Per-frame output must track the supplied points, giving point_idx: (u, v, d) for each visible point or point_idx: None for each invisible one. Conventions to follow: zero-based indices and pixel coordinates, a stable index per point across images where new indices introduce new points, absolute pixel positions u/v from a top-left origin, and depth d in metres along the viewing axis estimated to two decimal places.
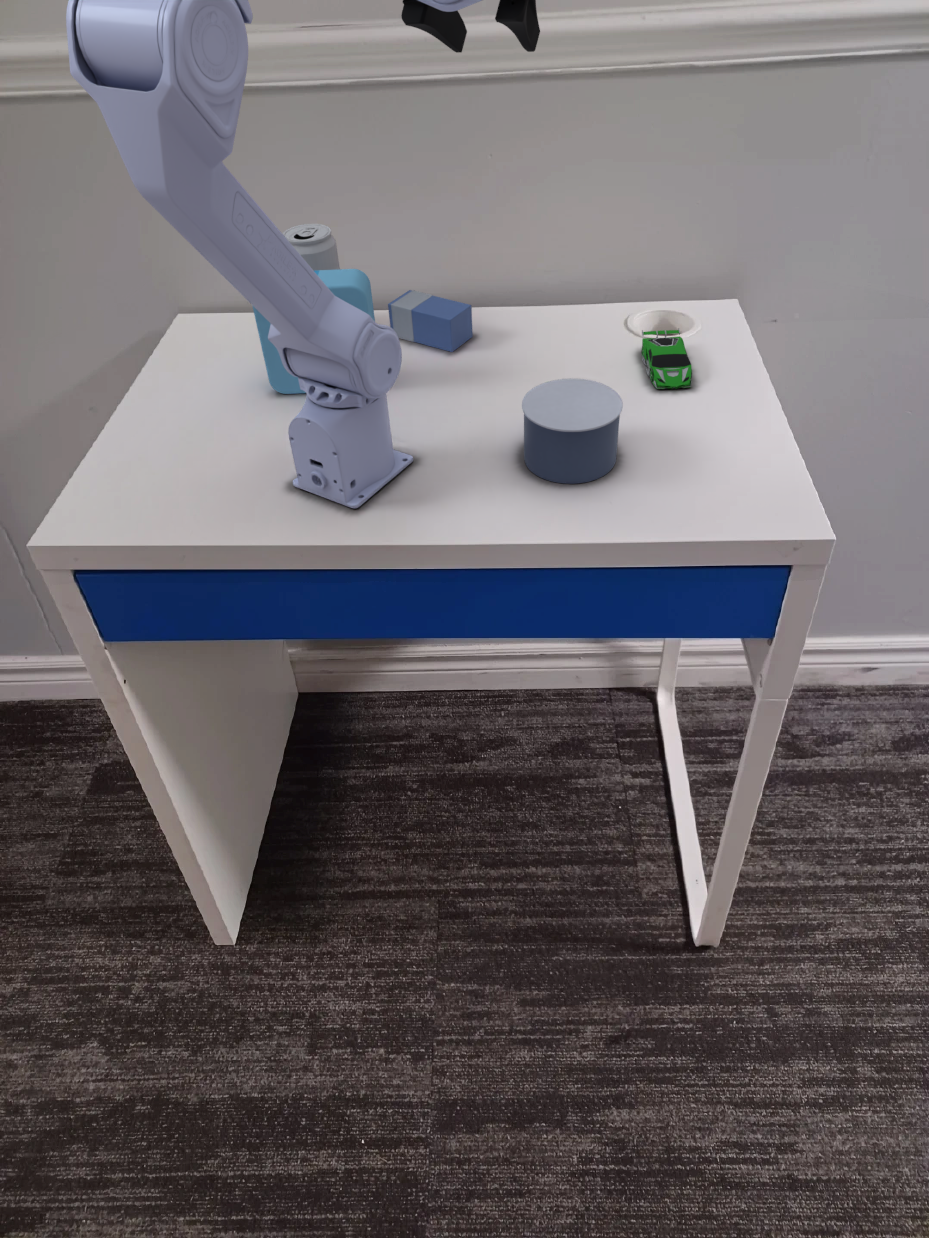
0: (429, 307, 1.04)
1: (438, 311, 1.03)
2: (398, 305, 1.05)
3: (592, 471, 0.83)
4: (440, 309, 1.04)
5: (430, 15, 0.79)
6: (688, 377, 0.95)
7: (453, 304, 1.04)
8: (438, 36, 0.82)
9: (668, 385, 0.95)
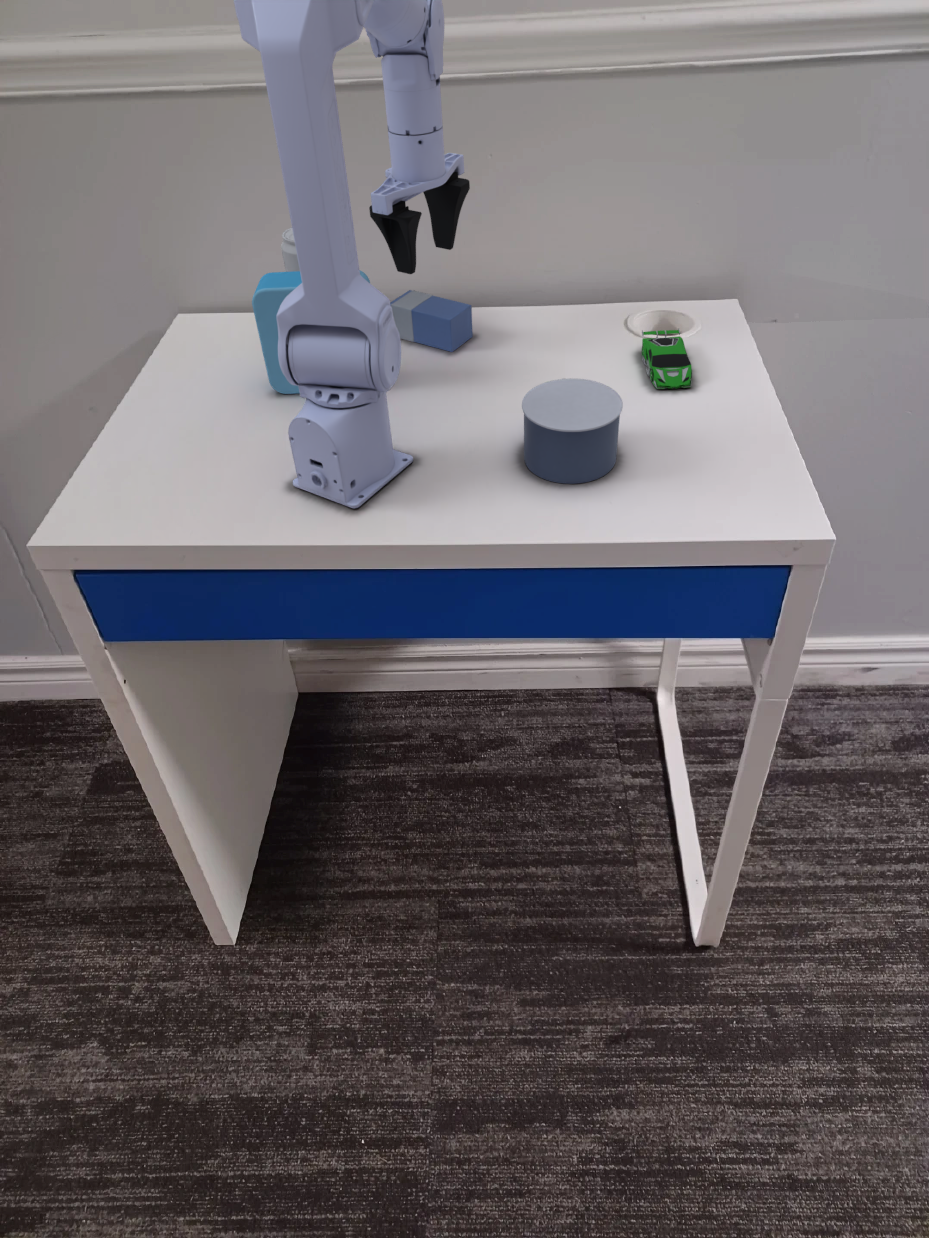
0: (429, 307, 1.04)
1: (438, 311, 1.03)
2: (398, 305, 1.05)
3: (592, 471, 0.83)
4: (440, 309, 1.04)
5: None
6: (688, 377, 0.95)
7: (453, 304, 1.04)
8: (412, 246, 0.96)
9: (668, 385, 0.95)
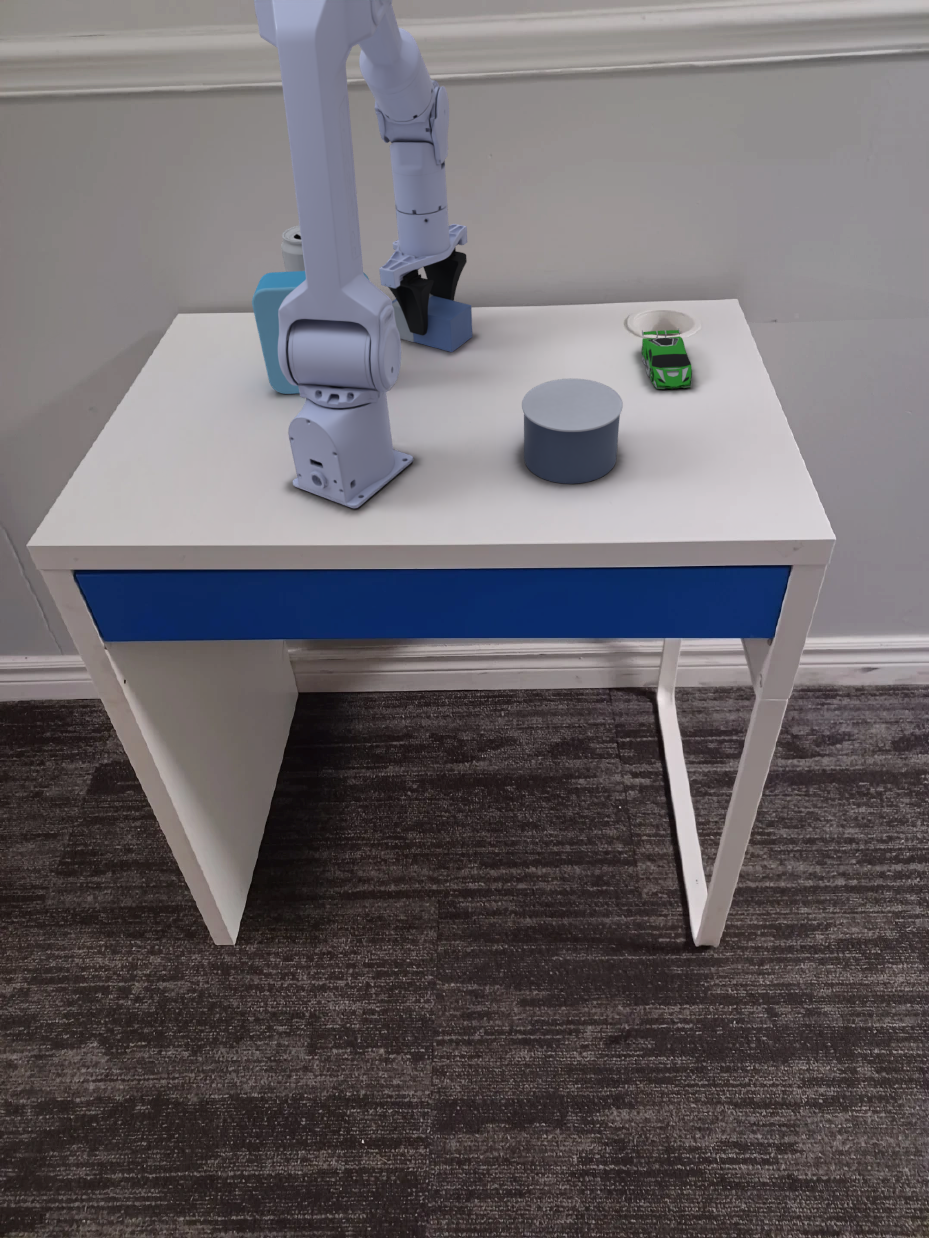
0: (429, 307, 1.04)
1: (438, 311, 1.03)
2: (398, 305, 1.05)
3: (592, 471, 0.83)
4: (440, 309, 1.04)
5: None
6: (688, 377, 0.95)
7: (453, 304, 1.04)
8: (425, 310, 1.02)
9: (668, 385, 0.95)
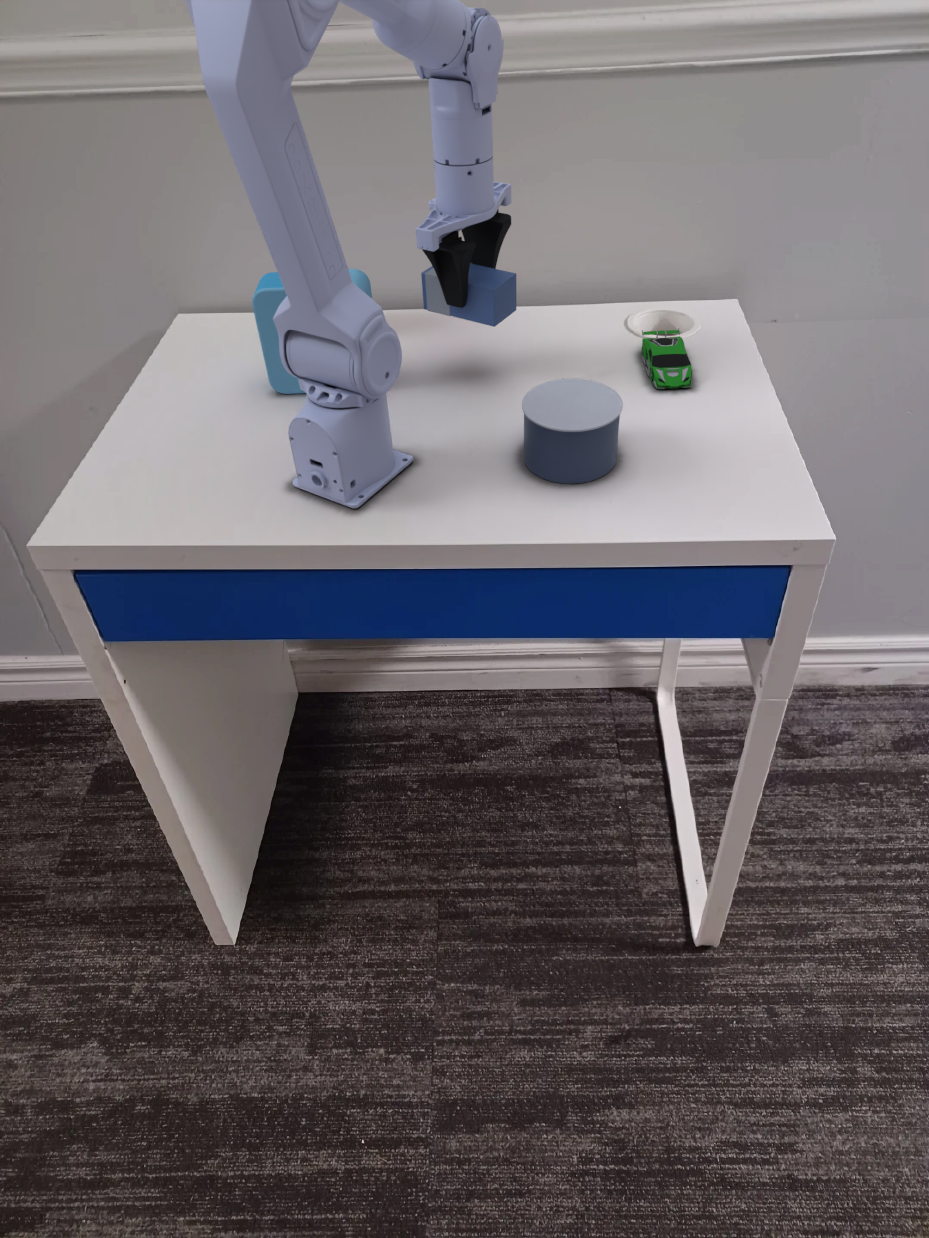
0: (468, 275, 0.92)
1: (479, 280, 0.91)
2: (433, 274, 0.93)
3: (592, 471, 0.83)
4: (481, 278, 0.91)
5: None
6: (688, 377, 0.95)
7: (495, 272, 0.92)
8: (465, 278, 0.90)
9: (668, 385, 0.95)
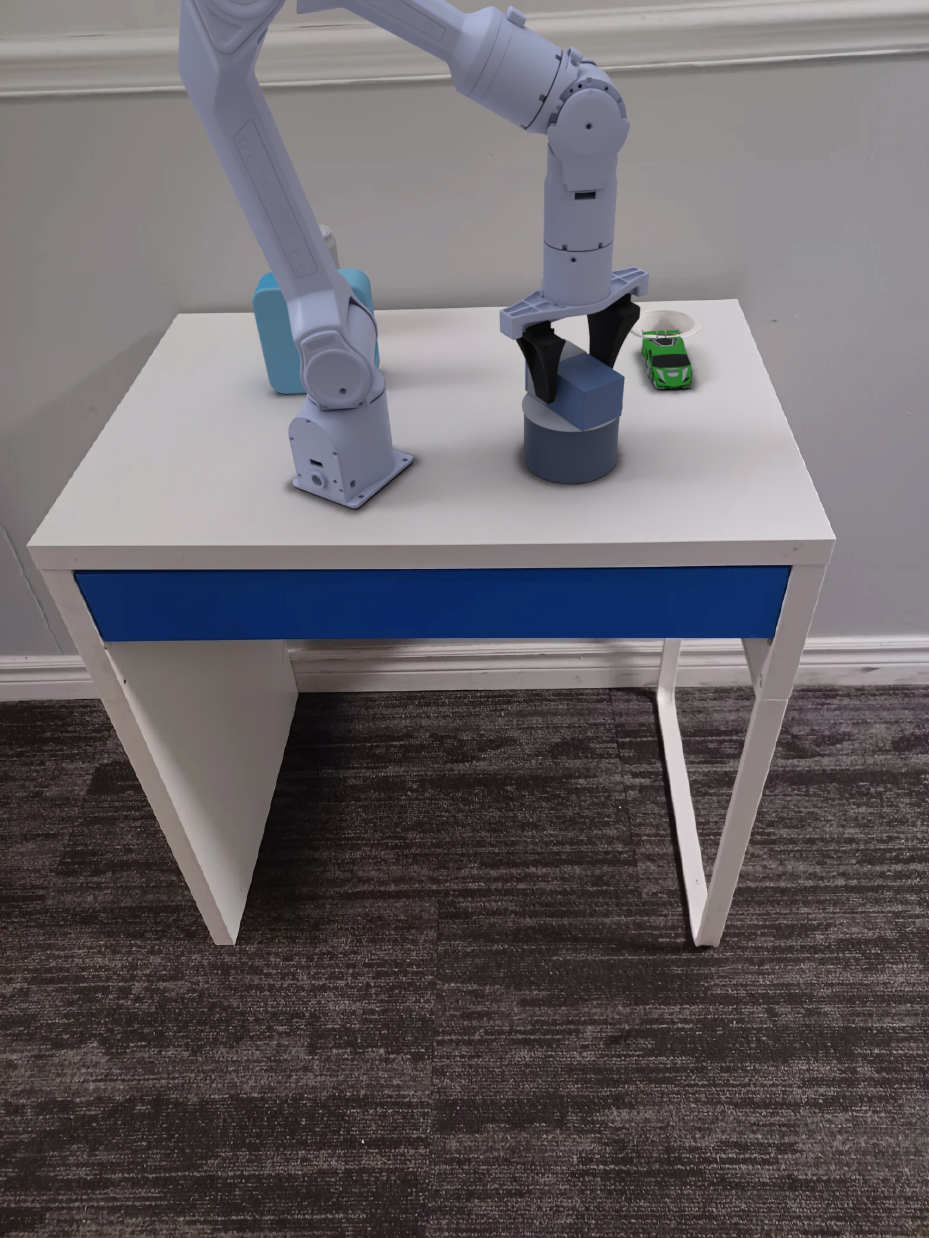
0: (571, 367, 0.80)
1: (578, 375, 0.79)
2: None
3: (592, 471, 0.83)
4: (582, 374, 0.79)
5: None
6: (688, 378, 0.95)
7: (603, 370, 0.79)
8: (552, 374, 0.78)
9: (668, 385, 0.95)
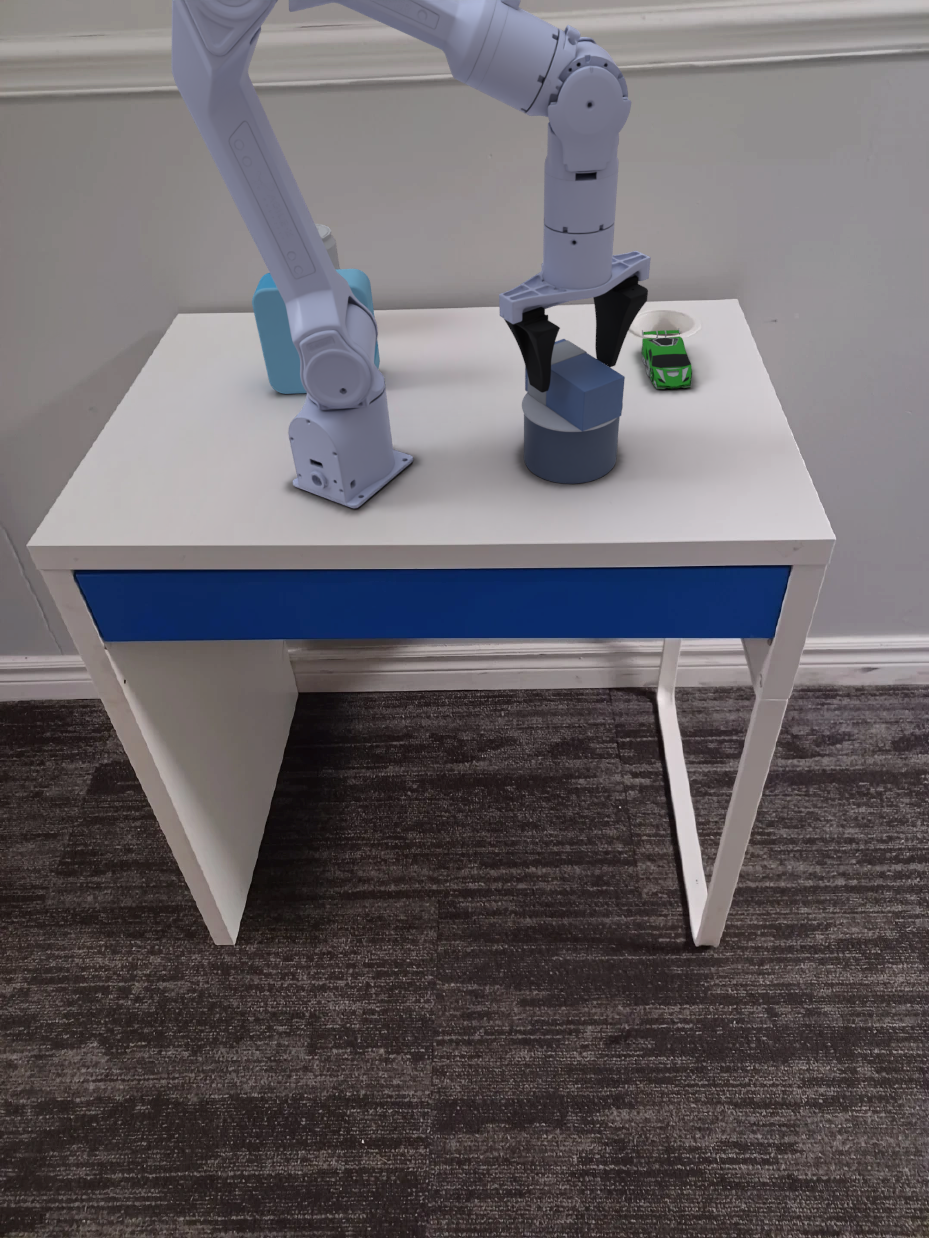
0: (571, 367, 0.80)
1: (578, 375, 0.79)
2: None
3: (592, 471, 0.83)
4: (582, 374, 0.79)
5: None
6: (688, 377, 0.95)
7: (603, 370, 0.79)
8: (546, 362, 0.76)
9: (668, 385, 0.95)
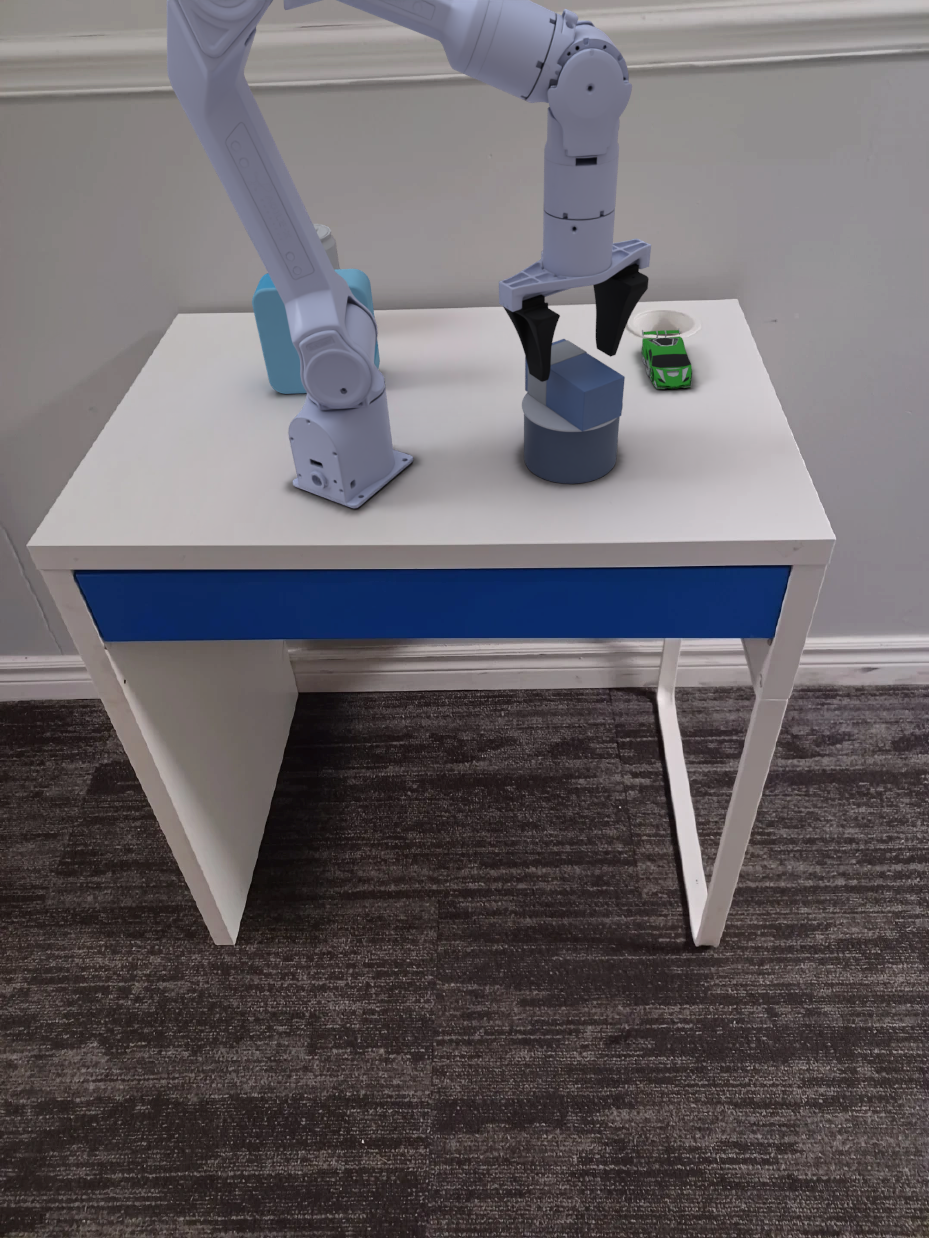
0: (571, 367, 0.80)
1: (578, 375, 0.79)
2: None
3: (592, 471, 0.83)
4: (582, 374, 0.79)
5: None
6: (688, 377, 0.95)
7: (603, 370, 0.79)
8: (546, 350, 0.76)
9: (668, 385, 0.95)
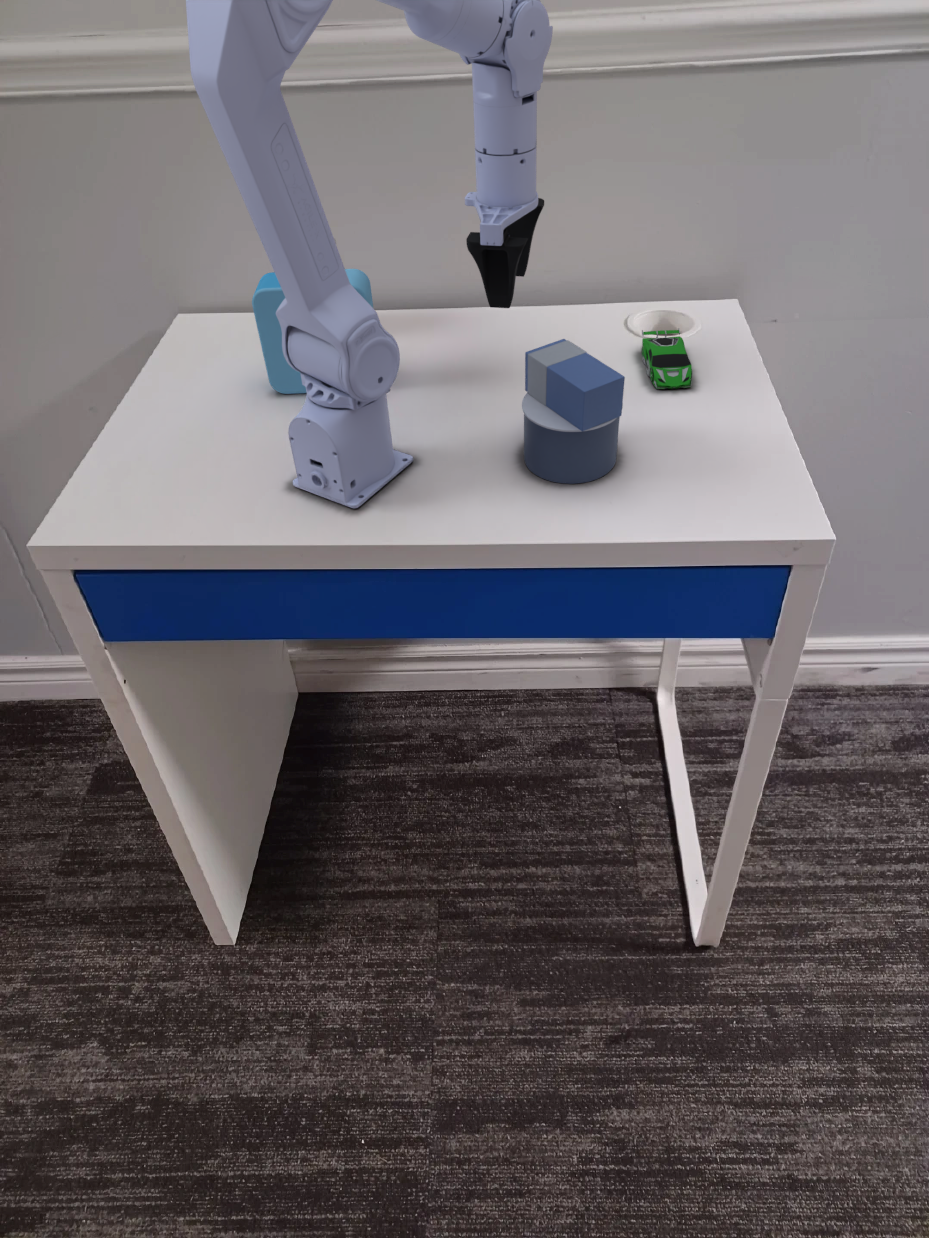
0: (571, 367, 0.80)
1: (578, 375, 0.79)
2: (535, 357, 0.81)
3: (592, 471, 0.83)
4: (582, 374, 0.79)
5: None
6: (688, 377, 0.95)
7: (603, 370, 0.79)
8: (514, 276, 0.86)
9: (668, 385, 0.95)
